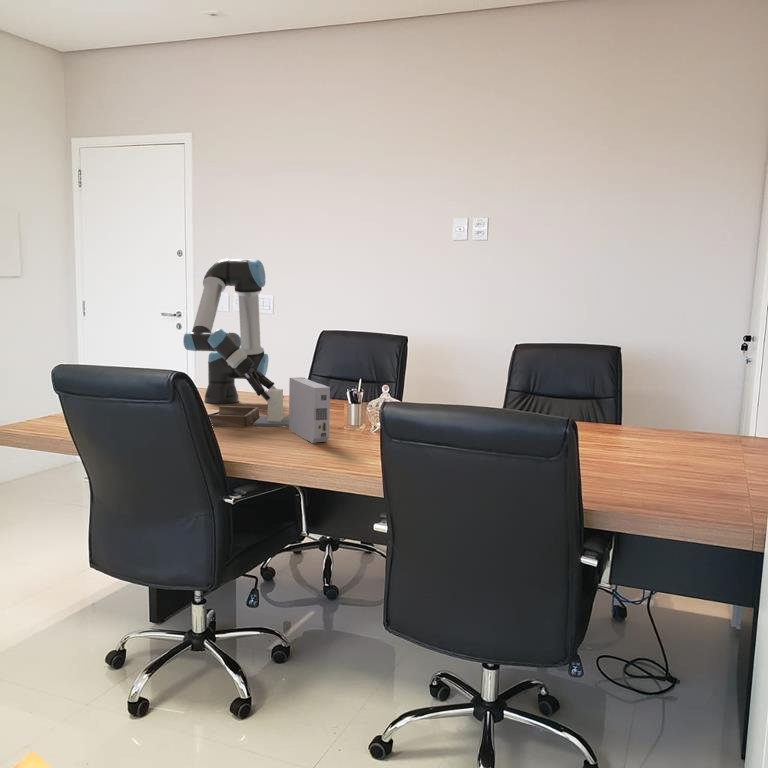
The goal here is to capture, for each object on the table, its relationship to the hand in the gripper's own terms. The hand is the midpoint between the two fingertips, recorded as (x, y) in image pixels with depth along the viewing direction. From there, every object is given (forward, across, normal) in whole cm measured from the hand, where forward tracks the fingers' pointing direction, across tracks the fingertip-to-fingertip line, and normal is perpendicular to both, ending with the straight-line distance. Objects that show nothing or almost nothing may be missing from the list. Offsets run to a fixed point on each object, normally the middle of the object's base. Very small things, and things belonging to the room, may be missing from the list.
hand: (278, 402), depth 302 cm
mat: (+5, 0, -7) cm, 8 cm away
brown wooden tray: (-7, 0, -19) cm, 20 cm away
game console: (+17, +24, +5) cm, 30 cm away
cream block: (+4, 0, -6) cm, 7 cm away
